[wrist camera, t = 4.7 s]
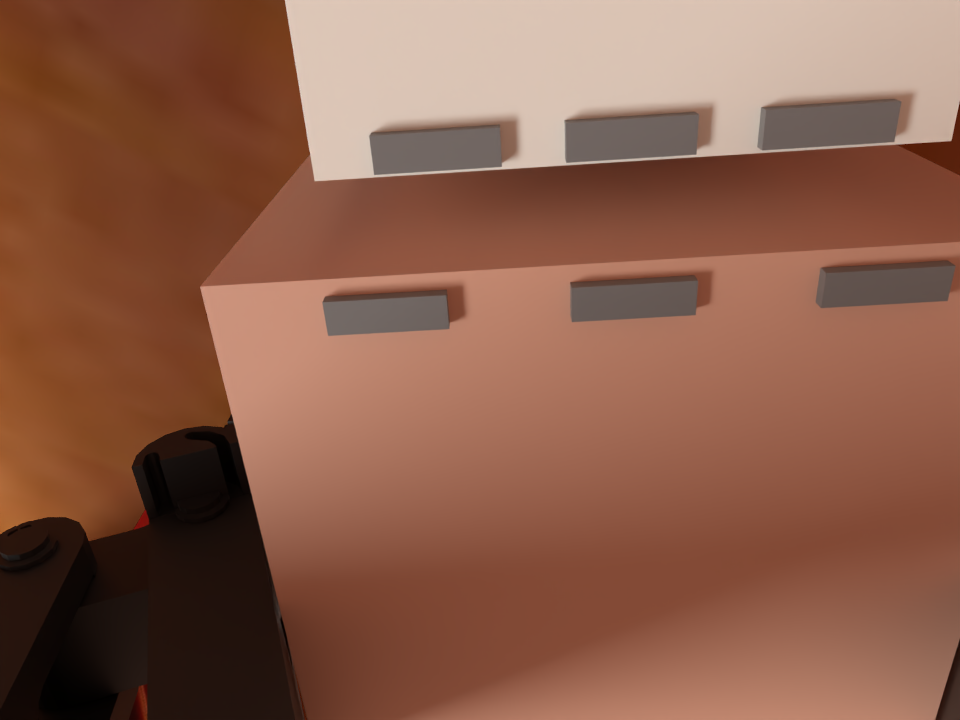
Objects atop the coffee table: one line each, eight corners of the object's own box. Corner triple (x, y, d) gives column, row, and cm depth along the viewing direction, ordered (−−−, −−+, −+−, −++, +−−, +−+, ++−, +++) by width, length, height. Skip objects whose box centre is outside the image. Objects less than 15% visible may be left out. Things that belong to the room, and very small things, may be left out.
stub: (371, 80, 16) (194, 292, 6) (716, 57, 16) (1092, 239, 6) (412, 413, 20) (341, 873, 10) (692, 398, 20) (902, 855, 10)
